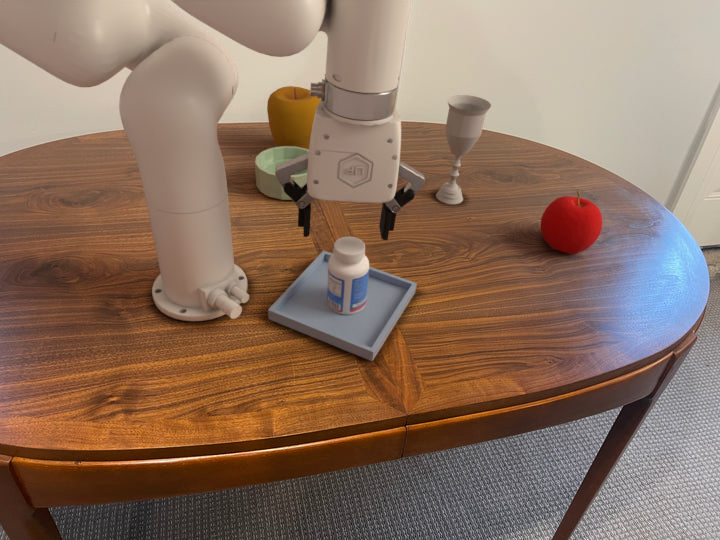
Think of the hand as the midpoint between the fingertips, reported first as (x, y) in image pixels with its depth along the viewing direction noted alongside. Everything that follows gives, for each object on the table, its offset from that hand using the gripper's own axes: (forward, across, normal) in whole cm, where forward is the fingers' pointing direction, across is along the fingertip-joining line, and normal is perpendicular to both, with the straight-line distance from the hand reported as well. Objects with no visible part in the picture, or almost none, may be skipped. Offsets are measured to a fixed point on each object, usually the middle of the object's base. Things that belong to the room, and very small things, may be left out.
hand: (345, 232), depth 67 cm
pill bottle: (+12, +1, 0) cm, 12 cm away
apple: (+13, -6, +46) cm, 48 cm away
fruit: (+11, +39, +15) cm, 43 cm away
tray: (+12, +1, 0) cm, 12 cm away
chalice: (+12, +22, +30) cm, 39 cm away
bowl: (+13, -7, +32) cm, 36 cm away
